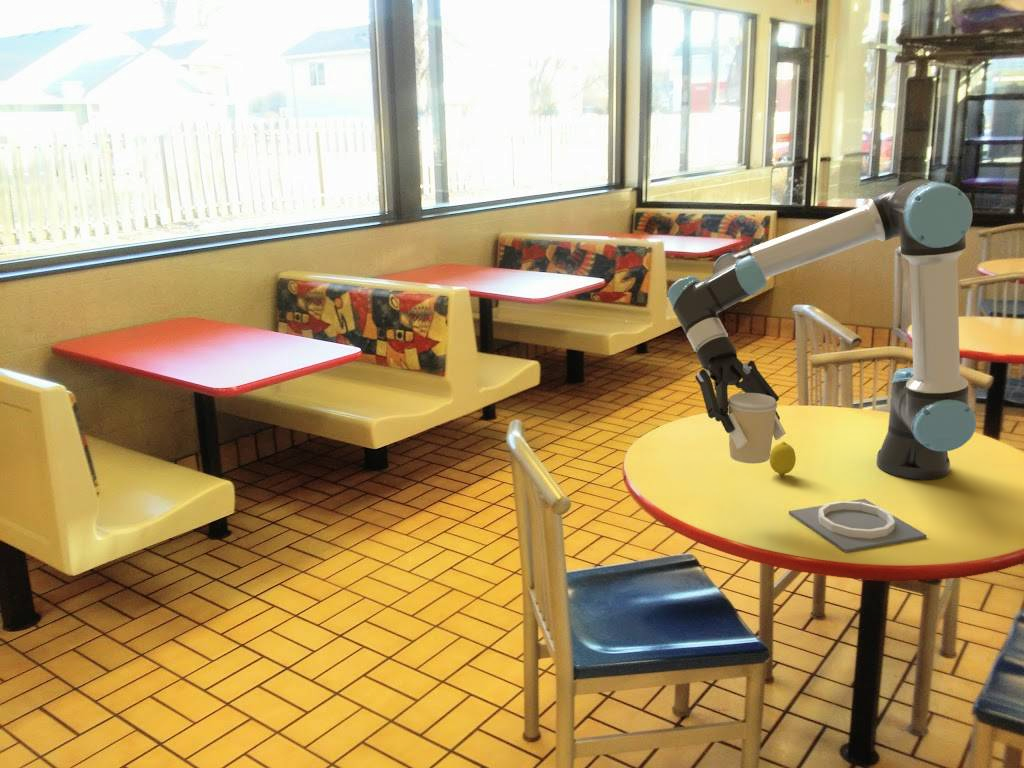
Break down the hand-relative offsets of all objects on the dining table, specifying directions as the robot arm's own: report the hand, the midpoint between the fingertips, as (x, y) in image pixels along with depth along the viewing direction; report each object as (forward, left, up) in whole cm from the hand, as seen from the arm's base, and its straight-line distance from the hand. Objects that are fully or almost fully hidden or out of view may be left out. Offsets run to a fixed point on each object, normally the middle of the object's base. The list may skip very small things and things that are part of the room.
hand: (761, 441), depth 174 cm
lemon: (-17, -18, -17) cm, 30 cm away
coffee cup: (+1, -3, -4) cm, 6 cm away
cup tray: (-16, +9, -17) cm, 25 cm away
